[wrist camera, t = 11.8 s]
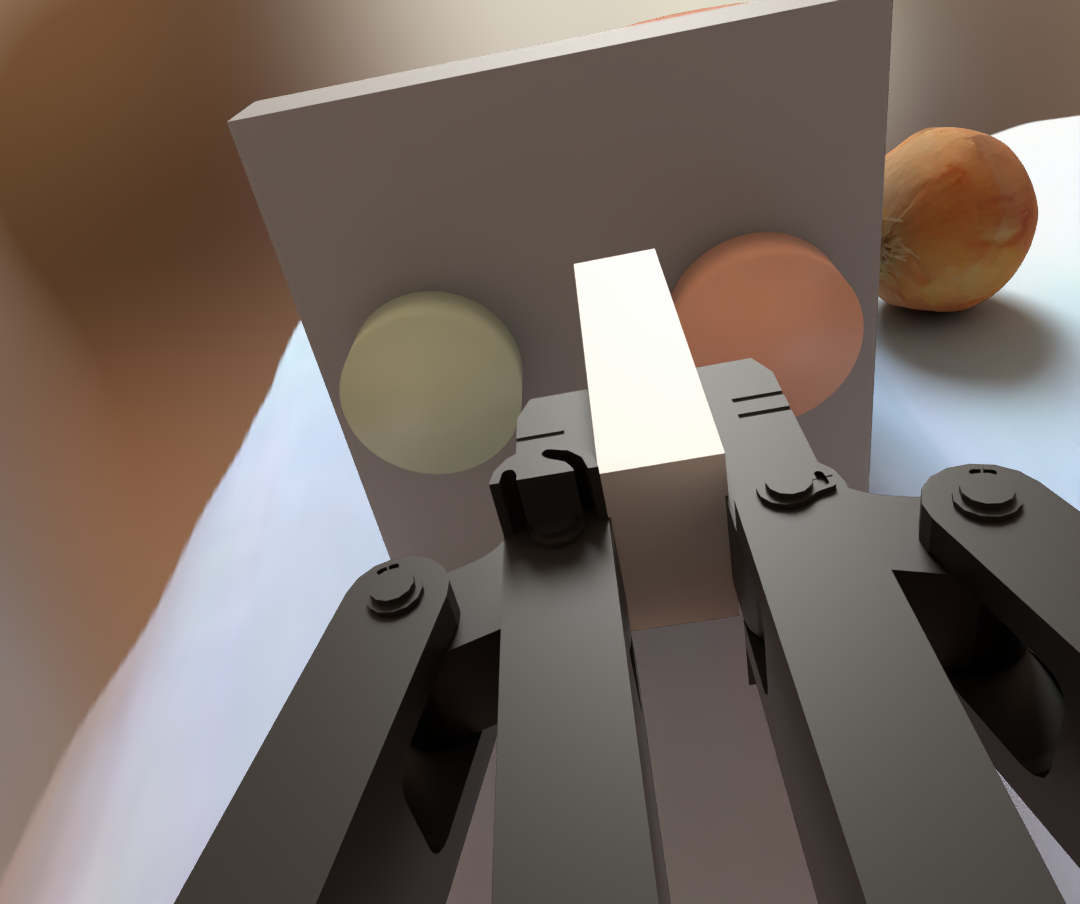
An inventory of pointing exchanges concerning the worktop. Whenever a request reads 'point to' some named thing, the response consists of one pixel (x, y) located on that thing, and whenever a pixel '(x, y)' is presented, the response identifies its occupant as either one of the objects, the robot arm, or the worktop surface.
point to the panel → (576, 202)
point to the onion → (953, 219)
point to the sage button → (433, 383)
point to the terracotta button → (772, 313)
